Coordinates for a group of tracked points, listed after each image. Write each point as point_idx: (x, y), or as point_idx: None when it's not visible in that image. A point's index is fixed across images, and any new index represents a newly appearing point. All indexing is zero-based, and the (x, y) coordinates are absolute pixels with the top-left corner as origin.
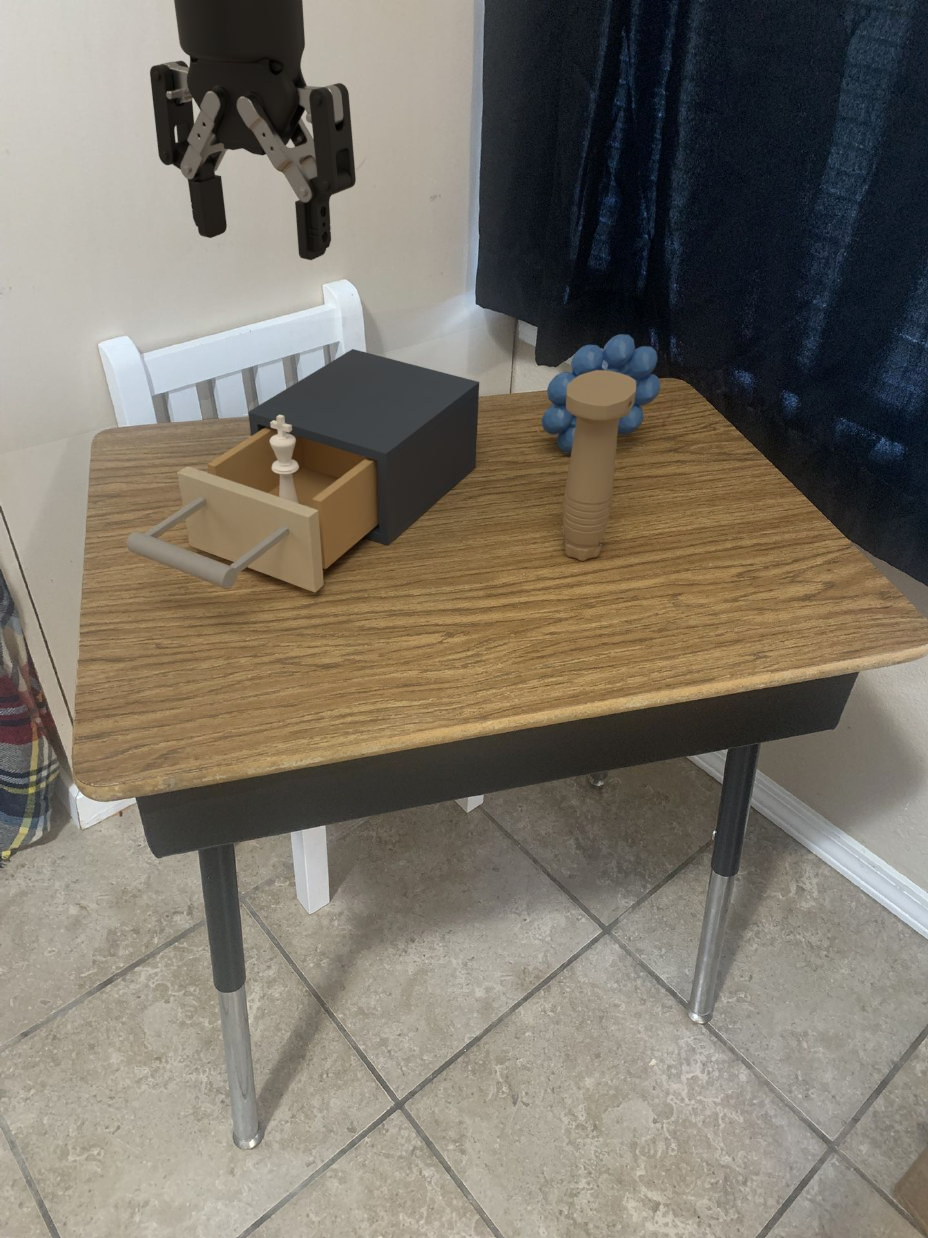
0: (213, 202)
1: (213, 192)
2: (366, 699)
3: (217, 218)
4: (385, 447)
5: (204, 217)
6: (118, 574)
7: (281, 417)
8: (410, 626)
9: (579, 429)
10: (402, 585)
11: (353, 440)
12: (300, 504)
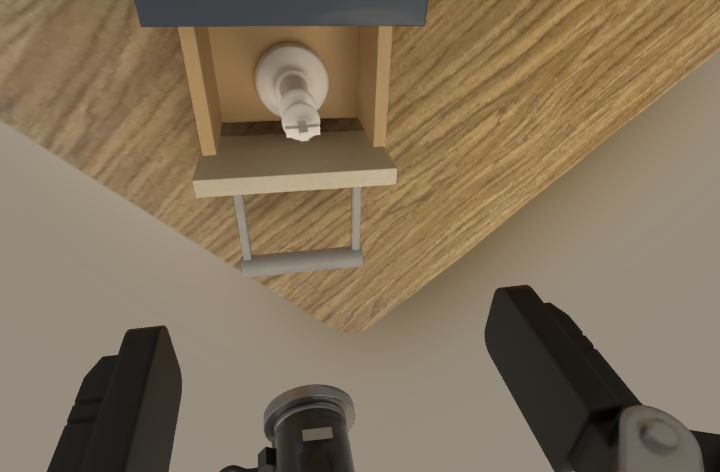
0: (154, 436)
1: (146, 465)
2: (467, 208)
3: (163, 382)
4: (416, 8)
5: (173, 433)
6: (178, 208)
7: (308, 138)
8: (465, 119)
9: None
10: (433, 67)
11: (360, 15)
12: (372, 169)
